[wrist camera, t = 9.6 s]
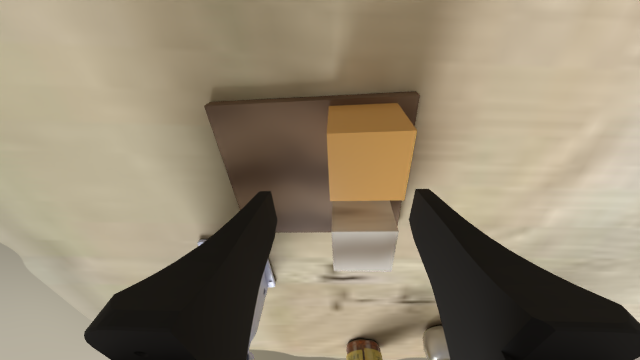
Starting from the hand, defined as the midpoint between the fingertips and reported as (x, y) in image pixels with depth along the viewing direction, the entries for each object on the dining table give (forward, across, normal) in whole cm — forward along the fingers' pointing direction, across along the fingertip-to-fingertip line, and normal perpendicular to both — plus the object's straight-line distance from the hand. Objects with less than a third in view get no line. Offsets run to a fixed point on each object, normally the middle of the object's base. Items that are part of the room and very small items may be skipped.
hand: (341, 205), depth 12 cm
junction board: (+9, +2, +4) cm, 10 cm away
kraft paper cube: (+8, -2, 0) cm, 8 cm away
